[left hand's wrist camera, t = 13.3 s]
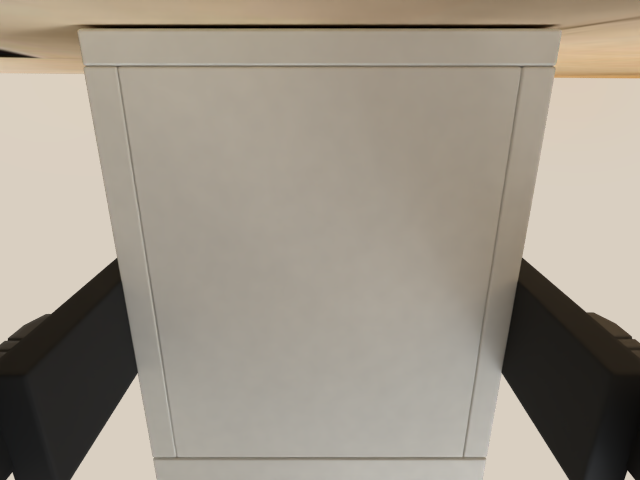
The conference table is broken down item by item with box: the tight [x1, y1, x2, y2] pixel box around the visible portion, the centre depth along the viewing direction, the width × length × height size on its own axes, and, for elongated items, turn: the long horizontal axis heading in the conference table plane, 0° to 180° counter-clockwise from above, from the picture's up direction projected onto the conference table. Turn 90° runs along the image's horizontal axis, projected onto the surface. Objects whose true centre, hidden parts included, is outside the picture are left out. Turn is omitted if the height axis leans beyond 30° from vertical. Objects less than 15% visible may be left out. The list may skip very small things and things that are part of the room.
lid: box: [153, 456, 486, 480], centre depth 21 cm, size 16×10×8 cm, turn 0°
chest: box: [78, 28, 562, 457], centre depth 17 cm, size 15×10×11 cm, turn 0°
